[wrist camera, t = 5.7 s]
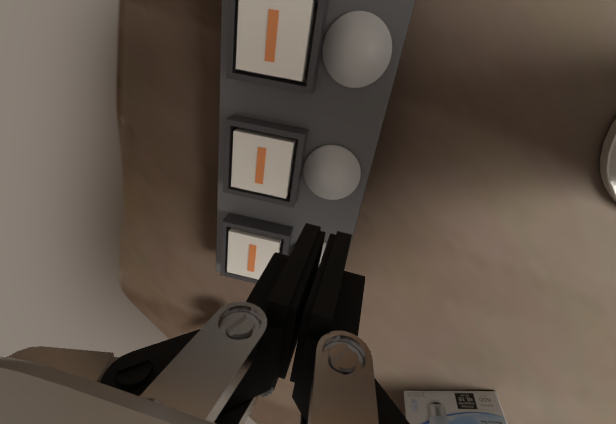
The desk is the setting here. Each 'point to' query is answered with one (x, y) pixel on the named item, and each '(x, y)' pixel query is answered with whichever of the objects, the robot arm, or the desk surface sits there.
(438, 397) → the light bulb box
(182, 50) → the desk surface
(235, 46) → the button panel
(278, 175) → the middle button
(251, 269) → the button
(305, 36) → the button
